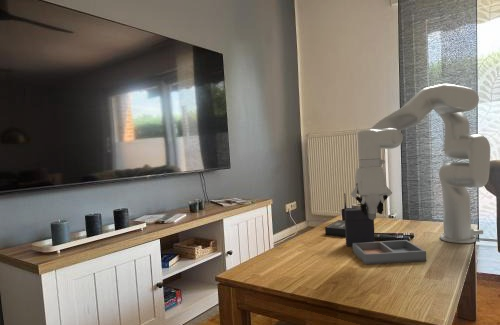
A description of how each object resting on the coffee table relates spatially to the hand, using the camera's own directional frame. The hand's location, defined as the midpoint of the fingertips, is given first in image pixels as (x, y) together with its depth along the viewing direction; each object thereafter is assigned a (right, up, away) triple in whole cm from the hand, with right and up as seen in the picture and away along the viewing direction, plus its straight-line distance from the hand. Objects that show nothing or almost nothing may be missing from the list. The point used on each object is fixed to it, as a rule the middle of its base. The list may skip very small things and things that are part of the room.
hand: (372, 213), depth 121 cm
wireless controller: (+1, -15, +39) cm, 42 cm away
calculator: (+1, -16, +16) cm, 22 cm away
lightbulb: (0, -3, 0) cm, 3 cm away
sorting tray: (+6, -16, +1) cm, 17 cm away
